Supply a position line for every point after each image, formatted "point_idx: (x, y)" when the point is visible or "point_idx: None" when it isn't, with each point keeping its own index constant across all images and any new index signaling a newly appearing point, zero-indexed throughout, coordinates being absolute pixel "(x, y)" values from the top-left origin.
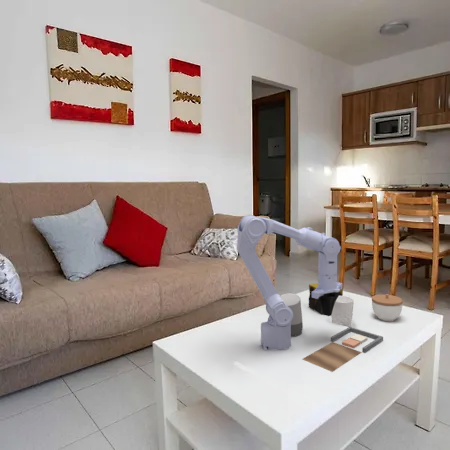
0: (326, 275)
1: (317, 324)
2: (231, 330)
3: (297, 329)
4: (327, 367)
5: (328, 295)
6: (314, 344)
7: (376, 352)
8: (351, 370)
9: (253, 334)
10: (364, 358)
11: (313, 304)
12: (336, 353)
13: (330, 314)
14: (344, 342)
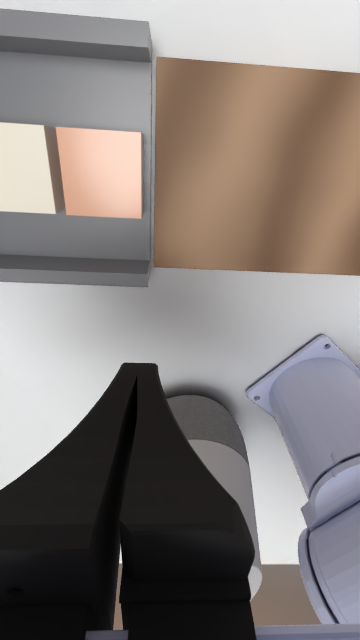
0: None
1: (12, 408)
2: (267, 524)
3: (208, 419)
4: None
5: (171, 589)
6: (190, 324)
7: (29, 9)
8: (346, 33)
9: (254, 484)
10: (161, 40)
11: None
12: (264, 181)
13: (140, 367)
14: (139, 202)
